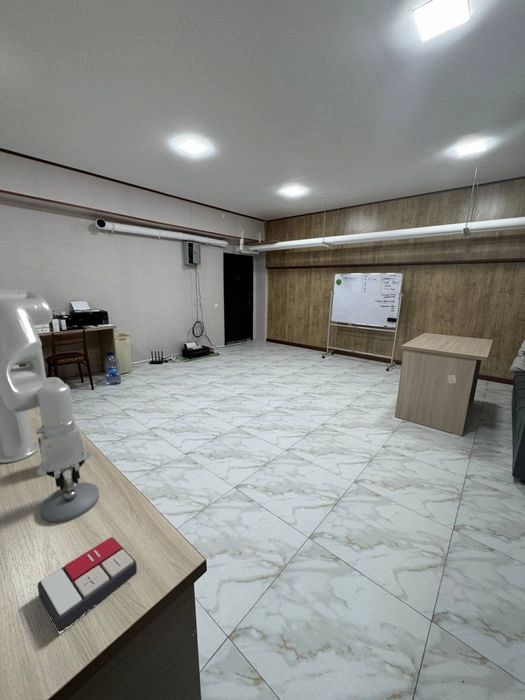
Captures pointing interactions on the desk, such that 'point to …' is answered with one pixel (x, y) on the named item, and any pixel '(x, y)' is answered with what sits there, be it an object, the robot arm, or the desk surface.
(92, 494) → the dial plate
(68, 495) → the light bulb
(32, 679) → the desk surface
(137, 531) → the desk surface
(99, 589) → the calculator
